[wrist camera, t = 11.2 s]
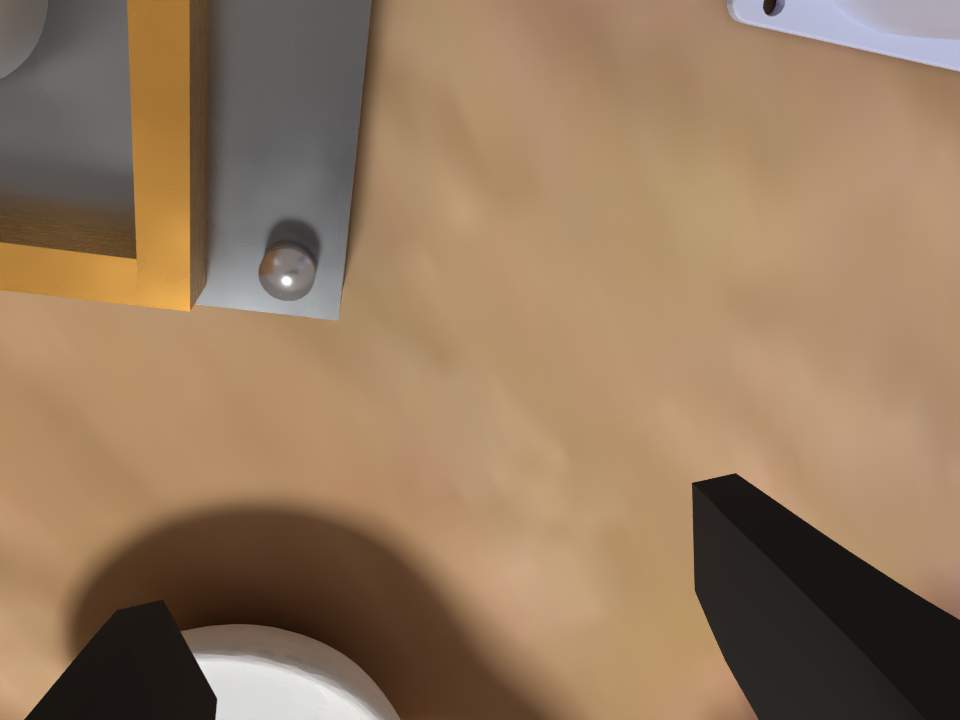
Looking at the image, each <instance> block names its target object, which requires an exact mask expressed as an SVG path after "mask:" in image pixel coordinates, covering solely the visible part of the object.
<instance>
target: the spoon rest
mask: <svg viewBox="0 0 960 720" xmlns="http://www.w3.org/2000/svg"><path fill="white" fill-rule="evenodd" d="M180 632H181V633H182V635H183V637H184V639H185V641H186V643H187V644H188V646H189V648H190V650H191V652H192V654H193V655H194V657H195V659H196V661H197V663H198V664H199V666H200V668H201V670H202V672H203V674H204V675H205V677H206V679H207V681H208V683H209V684H210V686H211V688H212V690H213V692H214V694H215V695H216V697H217V708H216V719H215V720H400V718H399V716H398V715H397V713H396V711H395V710H394V708H393V706H392V705H391V703H390V702H389V701H388V699H387V698H386V696H385V695H384V693H383V692H382V691H381V690H380V689H379V687H378V686H377V685H376V684H375V682H374V681H373V680H372V679H371V678H370V677H369V676H368V675H367V674H366V673H365V672H364V671H363V670H362V669H361V668H360V667H359V666H358V665H357V664H356V663H354V662H353V661H352V660H351V659H349V658H348V657H347V656H345V655H344V654H342V653H341V652H339V651H337V650H335V649H333V648H332V647H330V646H328V645H326V644H324V643H322V642H320V641H317V640H315V639H312V638H310V637H307V636H304V635H302V634H298V633H294V632H291V631H287V630H283V629H279V628H275V627H269V626H261V625H250V624H228V625H216V626H206V627H200V628H195V629H190V630H184V631H180Z"/></svg>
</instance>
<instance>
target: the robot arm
mask: <svg viewBox="0 0 960 720" xmlns="http://www.w3.org/2000/svg"><path fill="white" fill-rule="evenodd" d="M763 2H764V0H727V8H728V13H729V14H730V16H731V17H732V18H733V19H734V20H736V21H738V22H740V23H743V24H748V25H752V26H757V27H761V28H766V29H770V30H775V31H779V32H784V33H788V34H793V35H797V36H802V37H806V38H811V39H815V40H820V41H824V42H828V43H833V44H837V45H842V46H846V47H851V48H855V49H860V50H864V51H869V52H873V53H878V54H882V55H887V56H891V57H896V58H900V59H905V60H909V61H914V62H918V63H923V64H927V65H931V66H936V67H940V68H945V69H949V70H954V71H958V72H960V0H776V6H775V8H774V10H773V12H772V13H770V14H769V15H766V14H765V12H764V10H763ZM692 497H693V538H694V579H695V592H696V594H697V597H698V599H699V601H700V604H701V606H702V609H703V611H704V613H705V616H706V618H707V620H708V623H709V625H710V627H711V630H712V632H713V634H714V636H715V639H716V641H717V643H718V645H719V648H720V650H721V652H722V654H723V656H724V659H725V661H726V663H727V664H728V666H729V668H730V670H731V672H732V673H733V675H734V677H735V679H736V680H737V682H738V684H739V686H740V687H741V689H742V691H743V693H744V694H745V696H746V698H747V700H748V702H749V703H750V705H751V707H752V709H753V710H754V712H755V714H756V716H757V717H758V719H759V720H960V620H959V619H957V618H956V617H954V616H952V615H950V614H949V613H947V612H945V611H944V610H942V609H940V608H939V607H937V606H935V605H933V604H932V603H930V602H928V601H927V600H925V599H923V598H922V597H920V596H918V595H917V594H915V593H914V592H912V591H910V590H909V589H907V588H905V587H904V586H902V585H901V584H899V583H897V582H896V581H894V580H893V579H891V578H890V577H888V576H887V575H885V574H884V573H882V572H880V571H879V570H877V569H876V568H874V567H873V566H871V565H870V564H868V563H867V562H865V561H863V560H862V559H860V558H859V557H857V556H856V555H854V554H853V553H851V552H850V551H848V550H847V549H845V548H844V547H842V546H841V545H839V544H838V543H836V542H835V541H833V540H832V539H830V538H829V537H827V536H826V535H824V534H823V533H821V532H820V531H818V530H817V529H816V528H814V527H813V526H811V525H810V524H808V523H807V522H805V521H804V520H802V519H801V518H799V517H798V516H797V515H795V514H794V513H792V512H791V511H789V510H788V509H787V508H785V507H784V506H782V505H781V504H779V503H778V502H776V501H775V500H774V499H772V498H771V497H769V496H768V495H766V494H765V493H764V492H762V491H761V490H759V489H758V488H756V487H755V486H753V485H752V484H750V483H749V482H748V481H746V480H745V479H743V478H742V477H740V476H739V475H737V474H736V473H735V474H730V475H726V476H721V477H717V478H712V479H708V480H703V481H699V482H694V483H692ZM216 708H217V697H216V695H215V694H214V692H213V690H212V688H211V686H210V684H209V683H208V681H207V679H206V677H205V675H204V674H203V672H202V670H201V668H200V666H199V664H198V663H197V661H196V659H195V657H194V655H193V654H192V652H191V650H190V648H189V646H188V644H187V643H186V641H185V639H184V637H183V635H182V633H181V632H180V630H179V628H178V626H177V624H176V623H175V621H174V619H173V617H172V615H171V613H170V612H169V610H168V608H167V606H166V604H165V603H164V601H163V600H161V601H157V602H152V603H148V604H143V605H139V606H134V607H129V608H125V609H120V610H117V611H116V612H115V613H114V614H113V615H112V617H111V618H110V619H109V620H108V621H107V622H106V623H105V624H104V625H103V627H102V628H101V629H100V630H99V631H98V632H97V634H96V635H95V636H94V637H93V638H92V639H91V641H90V642H89V643H88V644H87V645H86V646H85V648H84V649H83V650H82V651H81V652H80V654H79V655H78V656H77V657H76V658H75V660H74V661H73V662H72V663H71V664H70V666H69V667H68V668H67V669H66V670H65V672H64V673H63V674H62V675H61V676H60V678H59V679H58V680H57V681H56V682H55V684H54V685H53V686H52V687H51V688H50V690H49V691H48V692H47V693H46V694H45V696H44V697H43V698H42V699H41V700H40V702H39V703H38V704H37V705H36V706H35V708H34V709H33V710H32V711H31V712H30V714H29V715H28V716H27V717H26V718H25V719H24V720H215V719H216Z"/></svg>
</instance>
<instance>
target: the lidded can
mask: <svg viewBox="0 0 960 720" xmlns="http://www.w3.org/2000/svg"><path fill="white" fill-rule="evenodd" d="M47 9H48V0H0V79H1V78H3V77H5V76H7V75H9V74H10V73H11V72H13V71H14V70H15V69H17V68H18V67H19V66H20V65H21V64H22V63H23V62H24V61H25V60H26V59H27V58H28V57H29V55H30V54H31V52H32V51H33V49H34V48H35V46H36V45H37V42H38V40H39V38H40V36H41V34H42V31H43V28H44V24H45V21H46V16H47Z"/></svg>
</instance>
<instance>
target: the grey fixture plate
mask: <svg viewBox="0 0 960 720" xmlns="http://www.w3.org/2000/svg"><path fill="white" fill-rule="evenodd" d="M371 9H372V0H48V9H47V16H46V21H45V24H44V28H43V31H42V34H41V36H40V38H39V40H38V42H37V45H36V46H35V48H34V49H33V51H32V52H31V54H30V55H29V57H28V58H27V59H26V60H25V61H24V62H23V63H22V64H21V65H20V66H19V67H18V68H17V69H15V70H14V71H13V72H11V73H10V74H9V75H7V76H5V77H3V78H1V79H0V290H5V291H14V292H23V293H31V294H40V295H49V296H58V297H67V298H76V299H85V300H94V301H102V302H111V303H120V304H129V305H138V306H147V307H156V308H164V309H173V310H182V311H191V309H192V307H193V306H194V304H199V305H208V306H216V307H225V308H234V309H243V310H251V311H260V312H269V313H277V314H286V315H295V316H303V317H312V318H321V319H330V320H338V321H339V313H340V306H341V299H342V291H343V282H344V272H345V263H346V253H347V243H348V233H349V224H350V214H351V204H352V194H353V185H354V175H355V165H356V155H357V146H358V136H359V126H360V116H361V107H362V97H363V87H364V77H365V68H366V58H367V48H368V38H369V29H370V19H371Z"/></svg>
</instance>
